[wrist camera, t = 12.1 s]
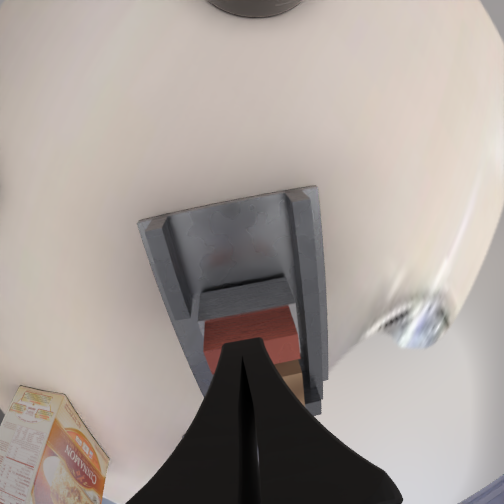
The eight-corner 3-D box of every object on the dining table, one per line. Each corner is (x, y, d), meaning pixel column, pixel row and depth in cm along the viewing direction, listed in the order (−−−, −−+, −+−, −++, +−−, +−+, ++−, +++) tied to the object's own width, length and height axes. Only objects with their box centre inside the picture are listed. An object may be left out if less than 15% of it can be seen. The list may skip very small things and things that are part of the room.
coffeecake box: (111, 459, 31) (95, 580, 13) (68, 451, 30) (44, 562, 13) (66, 393, 25) (20, 557, 7) (17, 383, 24) (-37, 523, 6)
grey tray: (326, 375, 25) (339, 409, 22) (206, 398, 25) (206, 433, 22) (315, 185, 18) (337, 203, 15) (138, 220, 18) (120, 246, 14)
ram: (291, 324, 21) (309, 381, 16) (214, 338, 21) (214, 398, 16) (285, 276, 20) (305, 331, 15) (200, 293, 20) (195, 351, 15)
